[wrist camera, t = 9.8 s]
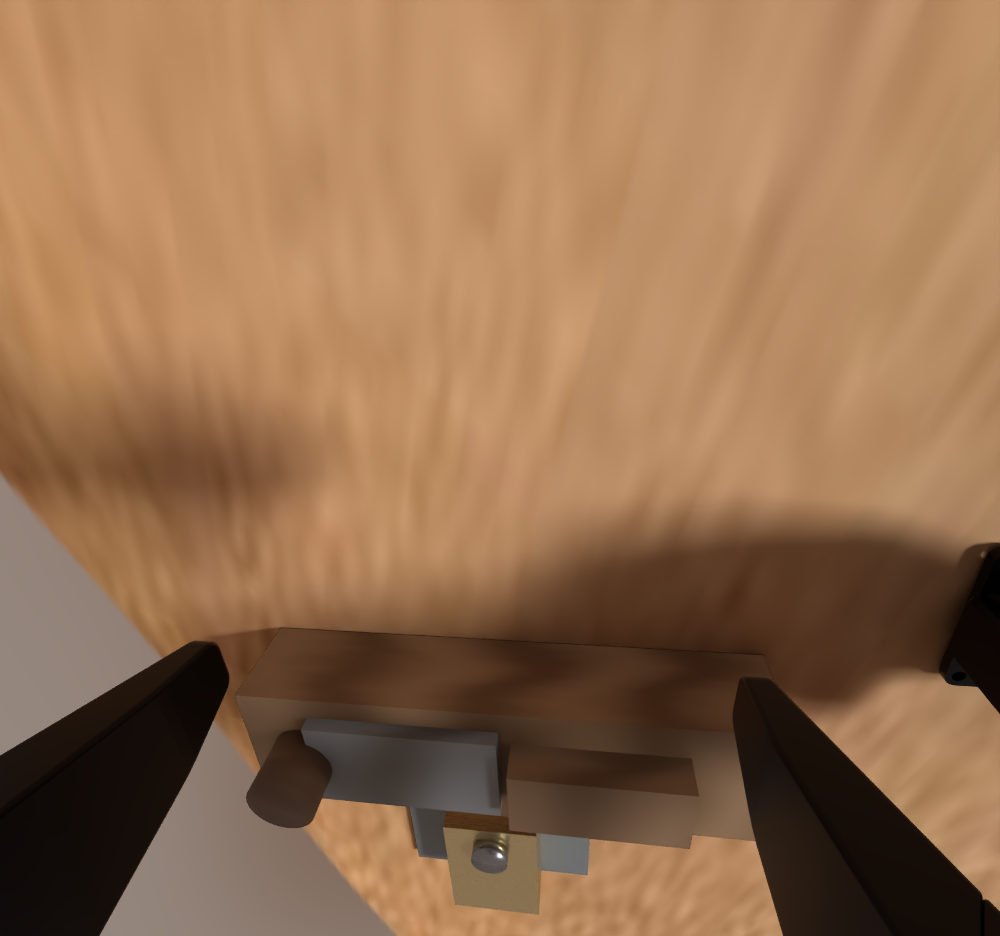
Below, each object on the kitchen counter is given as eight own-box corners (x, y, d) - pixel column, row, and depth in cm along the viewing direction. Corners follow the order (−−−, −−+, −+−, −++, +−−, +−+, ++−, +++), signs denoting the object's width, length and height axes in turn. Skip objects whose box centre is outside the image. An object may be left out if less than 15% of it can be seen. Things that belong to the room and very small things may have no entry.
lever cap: (541, 864, 32) (538, 927, 29) (463, 855, 32) (452, 917, 30) (539, 786, 29) (535, 849, 26) (453, 779, 29) (440, 839, 26)
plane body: (763, 655, 23) (822, 802, 18) (740, 754, 26) (786, 909, 21) (280, 627, 26) (199, 747, 21) (307, 719, 29) (242, 847, 23)
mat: (591, 779, 28) (591, 786, 28) (587, 867, 32) (587, 875, 32) (404, 762, 30) (402, 769, 29) (420, 849, 33) (418, 856, 33)
